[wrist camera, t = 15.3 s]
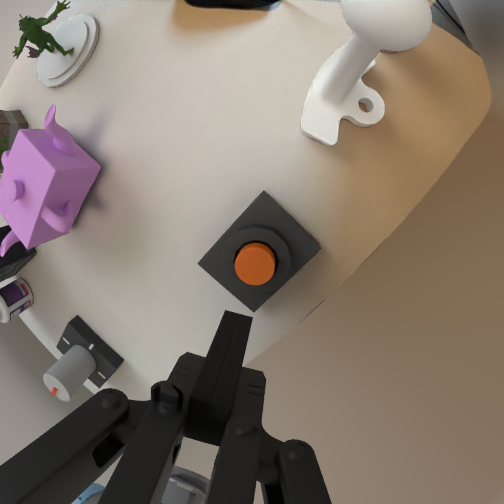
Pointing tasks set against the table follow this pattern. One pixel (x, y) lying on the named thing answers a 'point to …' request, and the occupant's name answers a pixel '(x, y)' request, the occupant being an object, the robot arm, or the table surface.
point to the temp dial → (69, 372)
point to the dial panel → (90, 349)
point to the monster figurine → (59, 45)
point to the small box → (13, 256)
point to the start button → (255, 264)
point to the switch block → (265, 232)
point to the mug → (9, 130)
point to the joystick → (361, 64)
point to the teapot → (43, 184)
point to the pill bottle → (14, 299)
